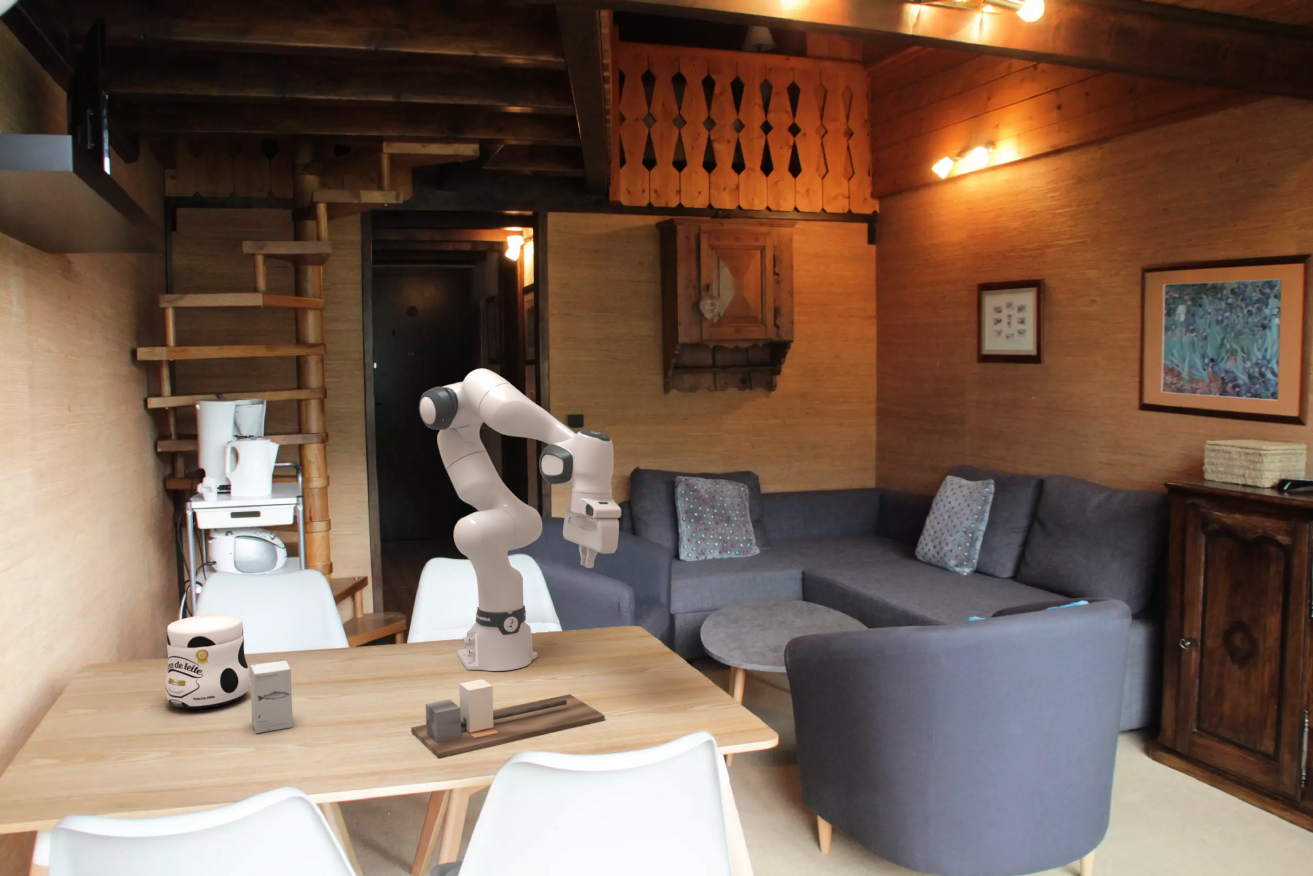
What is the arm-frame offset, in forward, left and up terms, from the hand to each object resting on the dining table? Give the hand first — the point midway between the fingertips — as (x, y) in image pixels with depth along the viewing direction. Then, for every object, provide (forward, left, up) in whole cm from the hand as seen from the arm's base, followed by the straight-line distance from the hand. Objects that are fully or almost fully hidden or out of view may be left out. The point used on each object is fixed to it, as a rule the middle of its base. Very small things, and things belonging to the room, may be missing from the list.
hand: (587, 566), depth 218 cm
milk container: (-46, -72, -30) cm, 90 cm away
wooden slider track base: (+6, -22, -30) cm, 37 cm away
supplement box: (-22, -63, -30) cm, 73 cm away
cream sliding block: (+6, -29, -28) cm, 41 cm away
